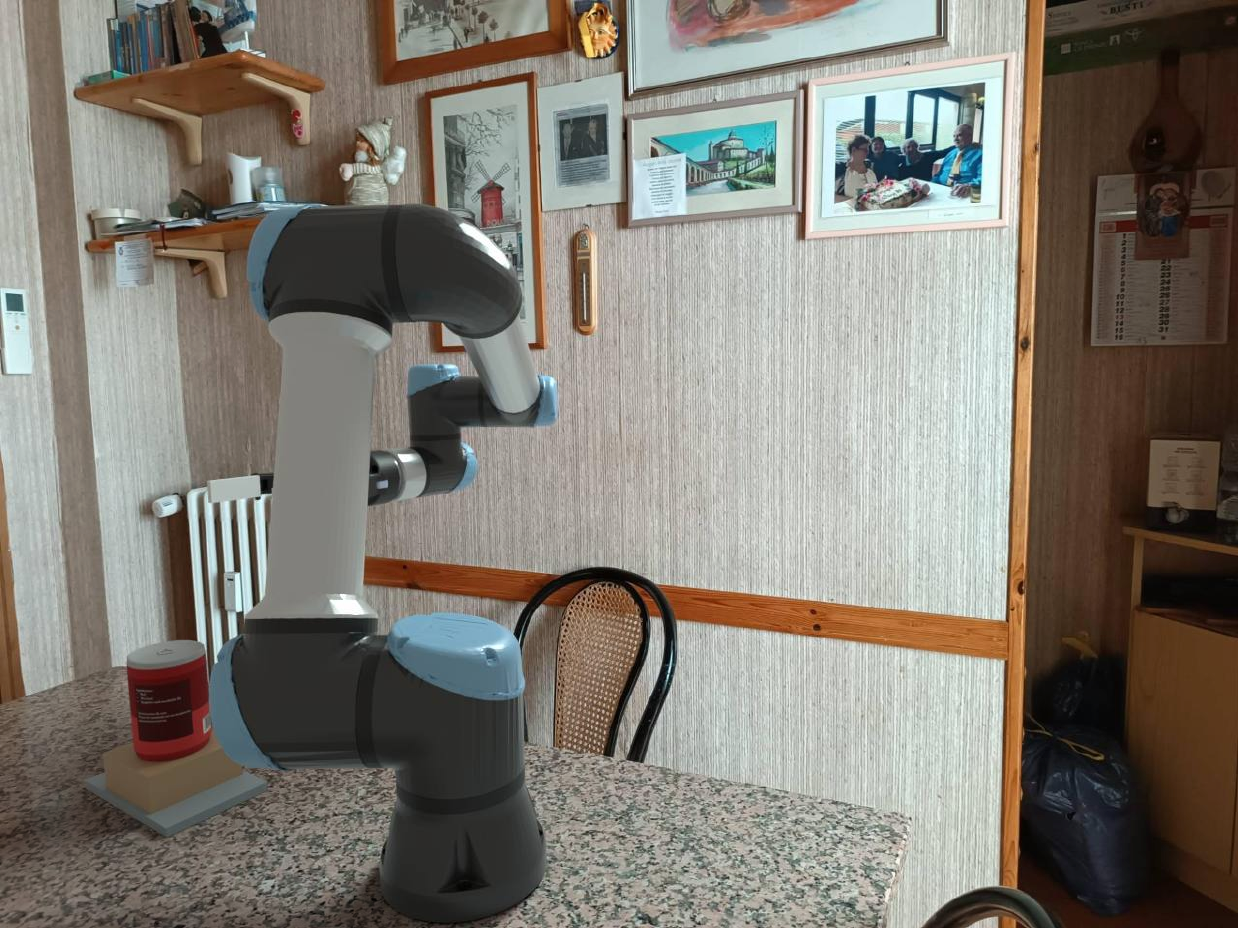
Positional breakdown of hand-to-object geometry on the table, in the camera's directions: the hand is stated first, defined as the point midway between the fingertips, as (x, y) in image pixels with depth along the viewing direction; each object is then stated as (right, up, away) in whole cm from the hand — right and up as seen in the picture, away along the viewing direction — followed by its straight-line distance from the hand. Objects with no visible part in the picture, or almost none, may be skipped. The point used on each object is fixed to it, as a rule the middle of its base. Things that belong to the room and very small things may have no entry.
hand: (239, 496), depth 94 cm
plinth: (-5, -33, -5) cm, 33 cm away
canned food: (-5, -28, -5) cm, 29 cm away
